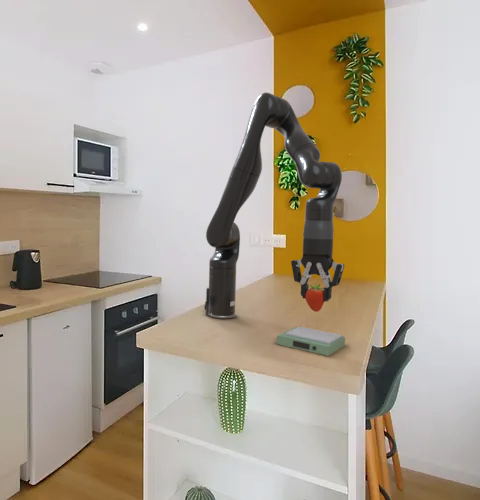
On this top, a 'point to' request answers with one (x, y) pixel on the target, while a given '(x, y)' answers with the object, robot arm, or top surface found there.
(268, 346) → the top surface
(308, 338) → the scale
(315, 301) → the fruit
